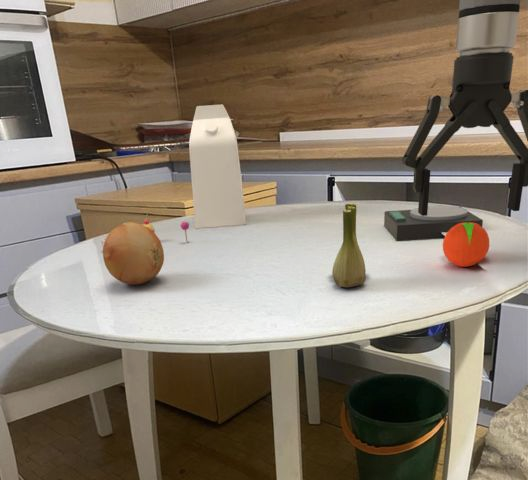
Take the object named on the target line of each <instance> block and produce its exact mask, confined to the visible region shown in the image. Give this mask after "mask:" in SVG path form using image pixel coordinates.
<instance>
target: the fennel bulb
mask: <svg viewBox="0 0 528 480" xmlns="http://www.w3.org/2000/svg"><path fill="white" fill-rule="evenodd" d="M342 232H343V233H342V234H343V235H342V244H341V246H340V248H339V250H338V252H337V254H336V257H335V259H334V262H333V266H332V270H331V271H332V272H331V273H332V278H333V281H334V283H335V284H336V285H337V286H338V287H341V288H355V287H358V286H362V285H363V284H364V282H365V281H366V279H367V275H366V272H367V271H366V270H367V269H366V264H365V263H366V262H365V259H364V256H363V254H362V251H361V248H360V246H359V243H358V242H359V241H358V239H357V204H356V203H345V205H344V209H343V210H342Z"/></svg>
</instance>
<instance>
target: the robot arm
mask: <svg viewBox="0 0 528 480" xmlns="http://www.w3.org/2000/svg"><path fill="white" fill-rule="evenodd" d="M520 5H521V0H459V6H458V20H457V30H456V40H455V41H456V42H455V52H456V53H458V54H459V56H457V57H456V58H455V59H454V61H453V63H454V64H453V74H452V87H451V88H452V89H451V93H450V94H449V97H448V96H440V95H439V94H433V95H430V96H429V97H428V100H427V104H426V111H425V114H424V115H423V118H422V120H421V121H420V123H419V125H418V127H417V130H416V131H415V133H414V135H413V137H412V139H411V142H410V143H409V145H408V147H407V149H406V151H405V152H404V154H403V157H402V159H401V163H402V165H404V166H405V167H409V168H412V169H413V183H412V189H413V192H415V193H416V194H417V193H418V207H417V208H418V213H419V214H421V215H422V216H427V212H428V206H429V197H430V185H431V184H430V182H431V170H430V169H428V168H427V167H428V165H429V164H430V163H431V162H432V160H433V159H434V158H435V157H436V156H437V155H438V154H439V152H441V150H442V149H443V148H444V147H445V145H447V143H448V142H449V140H451V138H452V137H453V136H454V135H455V134H456V133H457V132H458V131H459V130H460V129H461V128H464V129H474V128H477V127H479V128H490V127H491V126H493V127H494V128H495V129H496V130H497V132H498V133H499V134H500V136H501V137H502V139H503V140H504V142H505V143H506V144H507V146H508V147H509V148H510V150H511V151H512V153H513V154H514V155H515V157H516V159H517V160H518V161H519V162H518V163H517V162H516V163H515V162H514V163H512V170H511V177H510V178H511V179H510V183H509V185H510V186H509V191H508V199H507V209H509V210H510V211H513V212H520V209H521V201H522V195H523V188H524V187H525V188H528V146H527V144H525V142H524V141H523V139H522V138H521V137H520V135H519V134H518V132H517V131H516V129H515V128H514V127H513V125H512V124H511V121H510V119H509V118H508V116H507V115H506V114H505V110H506V109H507V108H508V107H509V105H510V104H511V103H512V106H513V107H514V108H516V111H517V115H518V117H519V121H520V123H521V126H522V129H523V132H524V135H525V138H526V140H527V141H526V142H528V89H520V90H519V91H516V92H511V87H510V86H511V82H512V73H513V65H514V58H515V56H514V55H513V52H510V51H511V49H514V48H515V46H516V42H517V33H518V24H519V15H520ZM446 107H448V109H449V111H450V112H451V114H452V115H451V116H450V118H449V119H448V120H447V121H446V122H445V124H444V126H443V128H441V129H440V131H439V132H438V133H437V134H436V135H435V137H434V138H433V139H432V141H431V142H430V143H429V144H428V145H427V146H426V148H425V149H424V150H423V151H422V152H421V154H420V151H421V149H422V147H423V146H424V144H425V142H426V140H427V138H428V137H429V134H430V132H431V130H432V129H433V127H434V125H435V123H436V121H437V119H438V116H439V114H441V113H442V112H443V111H444V110H445V108H446ZM418 155H419V156H418Z"/></svg>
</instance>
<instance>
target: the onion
mask: <svg viewBox="0 0 528 480" xmlns="http://www.w3.org/2000/svg"><path fill="white" fill-rule="evenodd" d="M105 239H106V240H105V243H104V246H103V247H102V258H103V262H104V265H105V268H106V269H107V271H108V273H109V274H110V275H111V276H112V277H113V278H114V279H116V280H117V281H119V282H121V283H123V284H127V285H134V286H135V285H138V286H139V285H142V284H144V283H146V282H148V281H150V280H152V279H153V278H155V277H157V275H159V273H160V272H161V270H162V268H163V266H164V262H165V254H164V253H165V252H164V248H163V244H162V242H161V240H160V238H159V237H158V235H157V234H156V232H155V233H154V232H153V231H152V230H150V229H149V228H147V227H146V226H144V224H142V223H138V222H133V221H132V222H129V221H127V222H124V223H121V224H119V225H117V226H116V227H114V228H113V229H112V230H111V231H110V232H109V233H108V234H107V235H106V238H105Z"/></svg>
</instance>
